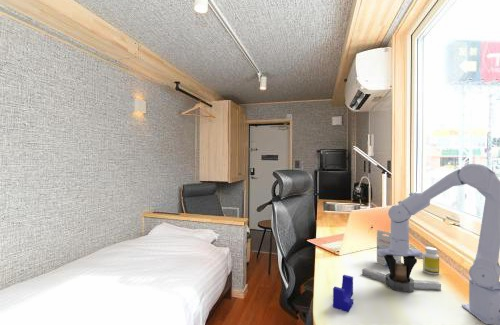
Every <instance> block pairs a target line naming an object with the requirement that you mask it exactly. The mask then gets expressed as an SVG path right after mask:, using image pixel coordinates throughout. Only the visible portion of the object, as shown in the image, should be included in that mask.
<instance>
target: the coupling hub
mask: <svg viewBox="0 0 500 325" xmlns="http://www.w3.org/2000/svg"><path fill="white" fill-rule="evenodd" d="M392 279H393V280H395V281H399V282H407V265H406V264H404V262H402V261H401V262H396V263H395V277H392Z"/></svg>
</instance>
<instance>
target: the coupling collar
mask: <svg viewBox="0 0 500 325" xmlns="http://www.w3.org/2000/svg"><path fill="white" fill-rule="evenodd" d="M361 273H362V274H361V275H362V276H365V277H368V278H371V279H373V280H376V281H379V282H382V283H385V285H386V286H387V287H388V288H389V289H391V290H393V291H396V292H400V293H408V294H409V293H413V292H414V290H428V291H431V290H432V291H442V284H441V282H439V281H437V280H421V279H413V278H412V277H409V278H407V282H399V281H395V280H393V279H392V276H391V275H390V272H389V273H386V274H385V273H382V272H379V271H376V270H373V269H370V268H366V267H363V268H362V270H361Z"/></svg>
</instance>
